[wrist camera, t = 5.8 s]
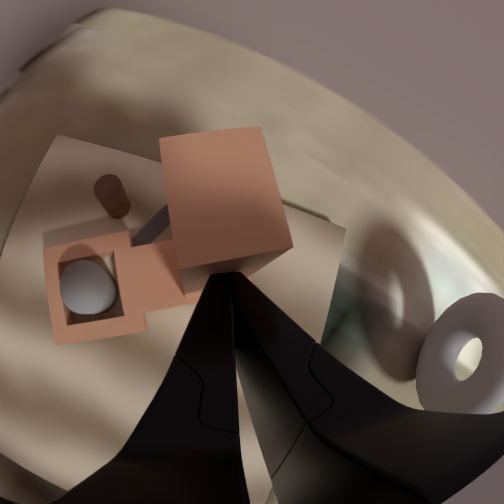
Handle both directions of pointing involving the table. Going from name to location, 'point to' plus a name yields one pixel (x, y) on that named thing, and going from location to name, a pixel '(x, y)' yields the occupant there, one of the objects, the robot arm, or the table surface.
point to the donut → (446, 353)
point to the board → (116, 314)
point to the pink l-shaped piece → (185, 232)
